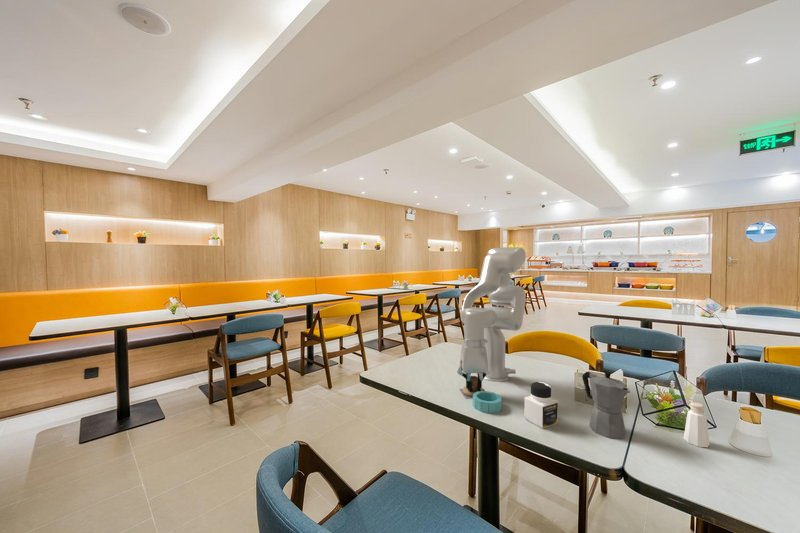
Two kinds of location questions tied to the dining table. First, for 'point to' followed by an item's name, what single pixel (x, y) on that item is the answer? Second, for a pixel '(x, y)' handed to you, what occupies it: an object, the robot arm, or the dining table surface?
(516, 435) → the dining table surface
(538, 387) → the medicine bottle
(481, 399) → the bowl
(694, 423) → the salt shaker
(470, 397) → the mat
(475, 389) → the lid
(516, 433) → the dining table surface
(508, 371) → the robot arm
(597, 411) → the coffeepot
